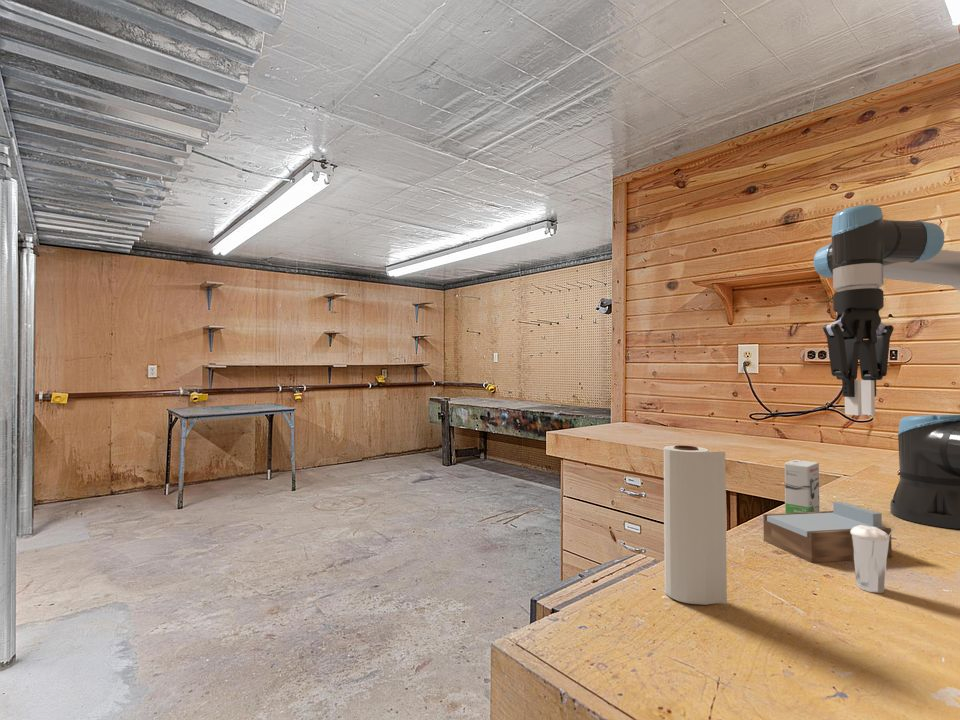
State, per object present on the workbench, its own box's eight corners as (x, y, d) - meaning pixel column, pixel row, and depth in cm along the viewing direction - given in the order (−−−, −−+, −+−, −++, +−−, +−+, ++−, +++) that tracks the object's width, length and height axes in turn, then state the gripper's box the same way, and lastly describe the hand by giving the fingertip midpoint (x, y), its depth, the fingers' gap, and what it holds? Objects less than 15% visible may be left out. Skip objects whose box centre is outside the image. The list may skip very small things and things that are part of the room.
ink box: (809, 520, 106) (808, 466, 106) (783, 515, 110) (783, 463, 110) (820, 512, 112) (819, 461, 112) (795, 508, 115) (795, 458, 116)
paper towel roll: (655, 590, 71) (654, 445, 72) (687, 583, 73) (685, 443, 74) (693, 612, 65) (692, 452, 65) (727, 605, 67) (725, 450, 67)
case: (835, 536, 95) (835, 510, 95) (891, 557, 84) (891, 528, 85) (763, 540, 93) (763, 514, 93) (811, 562, 82) (811, 533, 82)
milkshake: (888, 600, 68) (886, 529, 69) (845, 585, 73) (843, 519, 73) (903, 593, 70) (901, 524, 71) (860, 579, 75) (859, 515, 75)
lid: (839, 517, 95) (839, 500, 95) (886, 532, 85) (885, 514, 86) (766, 520, 92) (766, 504, 92) (806, 537, 83) (806, 518, 83)
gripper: (872, 294, 96) (875, 412, 95) (805, 292, 94) (807, 413, 93) (912, 287, 89) (914, 416, 88) (840, 285, 86) (842, 417, 86)
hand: (859, 414), depth 91 cm, fingers open, 2 cm apart
